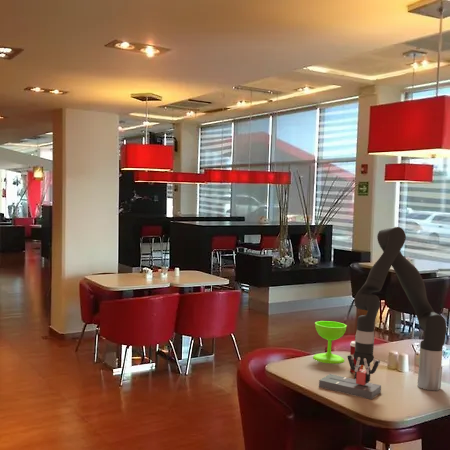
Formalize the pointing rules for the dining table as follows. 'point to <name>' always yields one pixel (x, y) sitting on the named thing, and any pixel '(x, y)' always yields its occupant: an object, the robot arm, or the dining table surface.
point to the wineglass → (329, 340)
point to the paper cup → (352, 351)
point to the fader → (361, 377)
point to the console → (349, 386)
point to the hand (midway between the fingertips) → (362, 381)
